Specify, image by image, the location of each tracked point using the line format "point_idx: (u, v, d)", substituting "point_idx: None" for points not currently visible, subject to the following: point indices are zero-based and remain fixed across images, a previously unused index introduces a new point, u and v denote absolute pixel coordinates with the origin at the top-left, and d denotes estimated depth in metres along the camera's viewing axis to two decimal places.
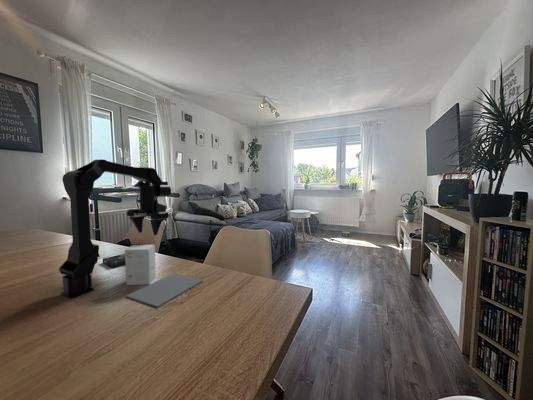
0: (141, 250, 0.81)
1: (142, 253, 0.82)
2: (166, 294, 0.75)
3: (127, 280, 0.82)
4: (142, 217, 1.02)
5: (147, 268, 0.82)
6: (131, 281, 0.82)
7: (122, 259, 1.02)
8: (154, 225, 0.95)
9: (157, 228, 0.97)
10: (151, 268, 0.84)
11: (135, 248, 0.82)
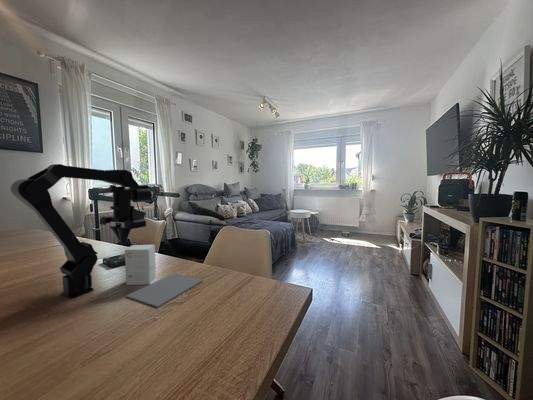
0: (141, 250, 0.81)
1: (142, 253, 0.82)
2: (166, 294, 0.75)
3: (127, 280, 0.82)
4: None
5: (147, 268, 0.82)
6: (131, 281, 0.82)
7: (122, 259, 1.02)
8: (121, 233, 0.86)
9: (125, 237, 0.88)
10: (151, 268, 0.84)
11: (135, 248, 0.82)
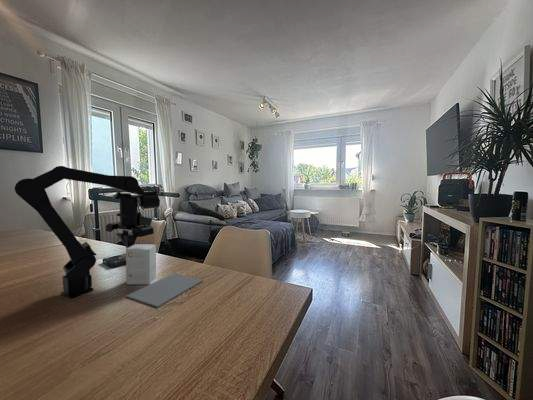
0: (142, 250, 0.81)
1: (143, 253, 0.81)
2: (166, 294, 0.75)
3: (127, 279, 0.82)
4: None
5: (147, 268, 0.82)
6: (131, 280, 0.82)
7: (122, 259, 1.02)
8: (128, 241, 0.85)
9: (132, 244, 0.87)
10: (152, 268, 0.84)
11: (136, 248, 0.82)
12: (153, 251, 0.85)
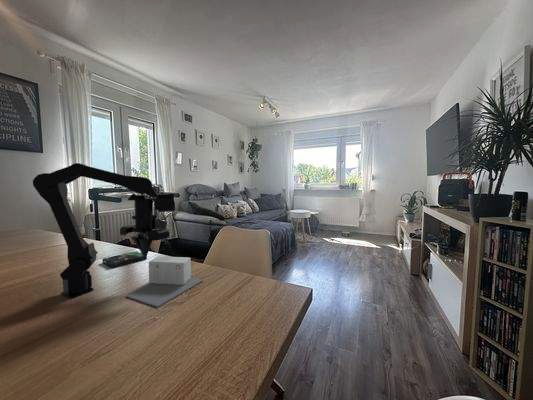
0: (182, 278, 0.81)
1: (179, 279, 0.82)
2: (166, 294, 0.75)
3: (153, 263, 0.82)
4: None
5: (164, 282, 0.82)
6: (151, 267, 0.82)
7: (122, 259, 1.02)
8: (143, 245, 0.81)
9: (147, 248, 0.83)
10: None
11: (185, 270, 0.82)
12: None
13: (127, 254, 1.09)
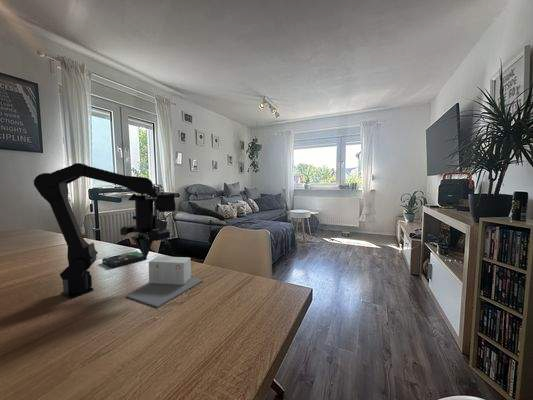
0: (182, 278, 0.81)
1: (179, 279, 0.82)
2: (166, 294, 0.75)
3: (153, 263, 0.82)
4: None
5: (164, 282, 0.82)
6: (151, 267, 0.82)
7: (122, 259, 1.02)
8: (144, 245, 0.81)
9: (148, 248, 0.83)
10: None
11: (185, 270, 0.82)
12: None
13: (127, 254, 1.09)
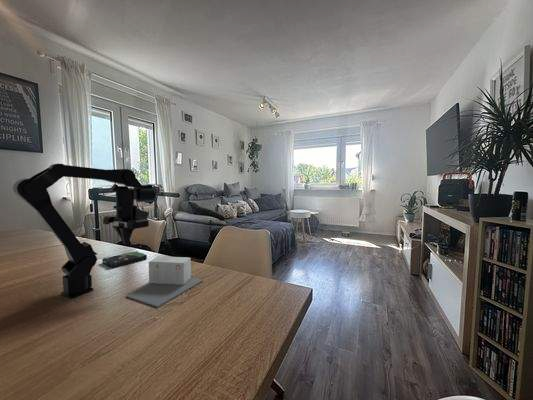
0: (182, 278, 0.81)
1: (179, 279, 0.82)
2: (166, 294, 0.75)
3: (153, 263, 0.82)
4: None
5: (164, 282, 0.82)
6: (151, 267, 0.82)
7: (122, 259, 1.02)
8: (124, 233, 0.85)
9: (128, 236, 0.87)
10: None
11: (185, 270, 0.82)
12: None
13: (127, 254, 1.09)
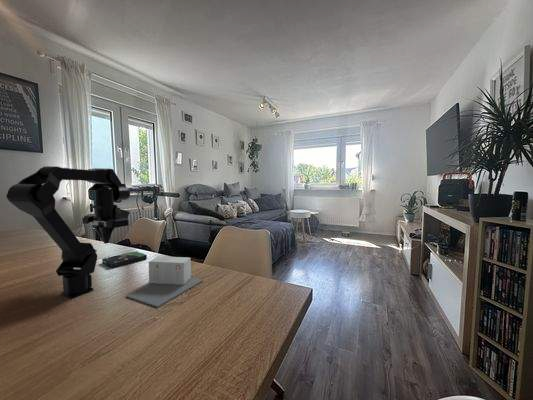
0: (182, 278, 0.81)
1: (179, 279, 0.82)
2: (166, 294, 0.75)
3: (153, 263, 0.82)
4: None
5: (164, 282, 0.82)
6: (151, 267, 0.82)
7: (122, 259, 1.02)
8: (103, 233, 0.85)
9: (108, 236, 0.87)
10: None
11: (185, 270, 0.82)
12: None
13: (127, 254, 1.09)
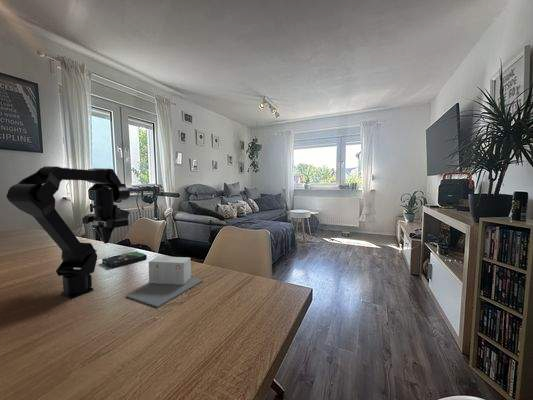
0: (182, 278, 0.81)
1: (179, 279, 0.82)
2: (166, 294, 0.75)
3: (153, 263, 0.82)
4: None
5: (164, 282, 0.82)
6: (151, 267, 0.82)
7: (122, 259, 1.01)
8: (103, 233, 0.85)
9: (108, 236, 0.87)
10: None
11: (185, 270, 0.82)
12: None
13: (127, 254, 1.09)
